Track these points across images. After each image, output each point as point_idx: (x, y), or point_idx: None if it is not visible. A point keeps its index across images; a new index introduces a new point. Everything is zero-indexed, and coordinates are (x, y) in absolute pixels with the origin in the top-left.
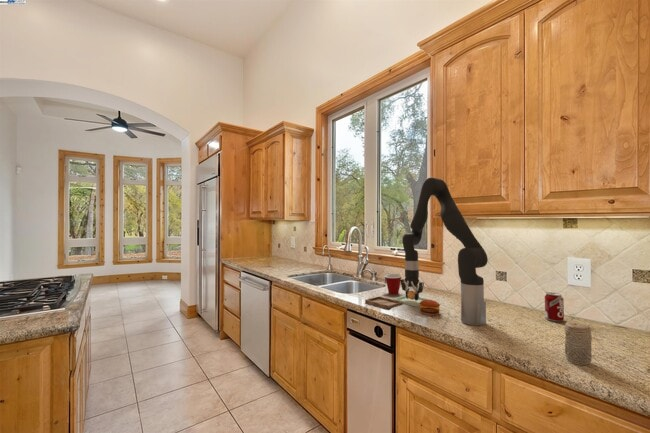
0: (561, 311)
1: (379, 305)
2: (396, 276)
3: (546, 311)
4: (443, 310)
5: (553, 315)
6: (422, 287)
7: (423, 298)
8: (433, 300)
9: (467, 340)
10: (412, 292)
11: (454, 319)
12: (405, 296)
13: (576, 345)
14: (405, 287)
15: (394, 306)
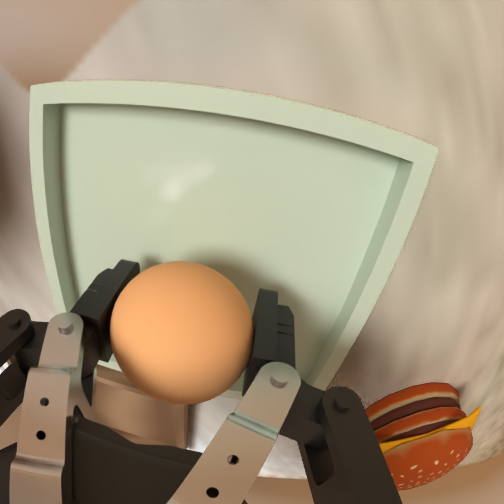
0: None
1: (124, 435)
2: None
3: None
4: (497, 326)
5: None
6: (378, 486)
7: (308, 130)
8: (447, 468)
9: (468, 463)
10: (200, 402)
11: (498, 401)
12: (49, 179)
13: None
14: (12, 347)
15: (186, 431)
